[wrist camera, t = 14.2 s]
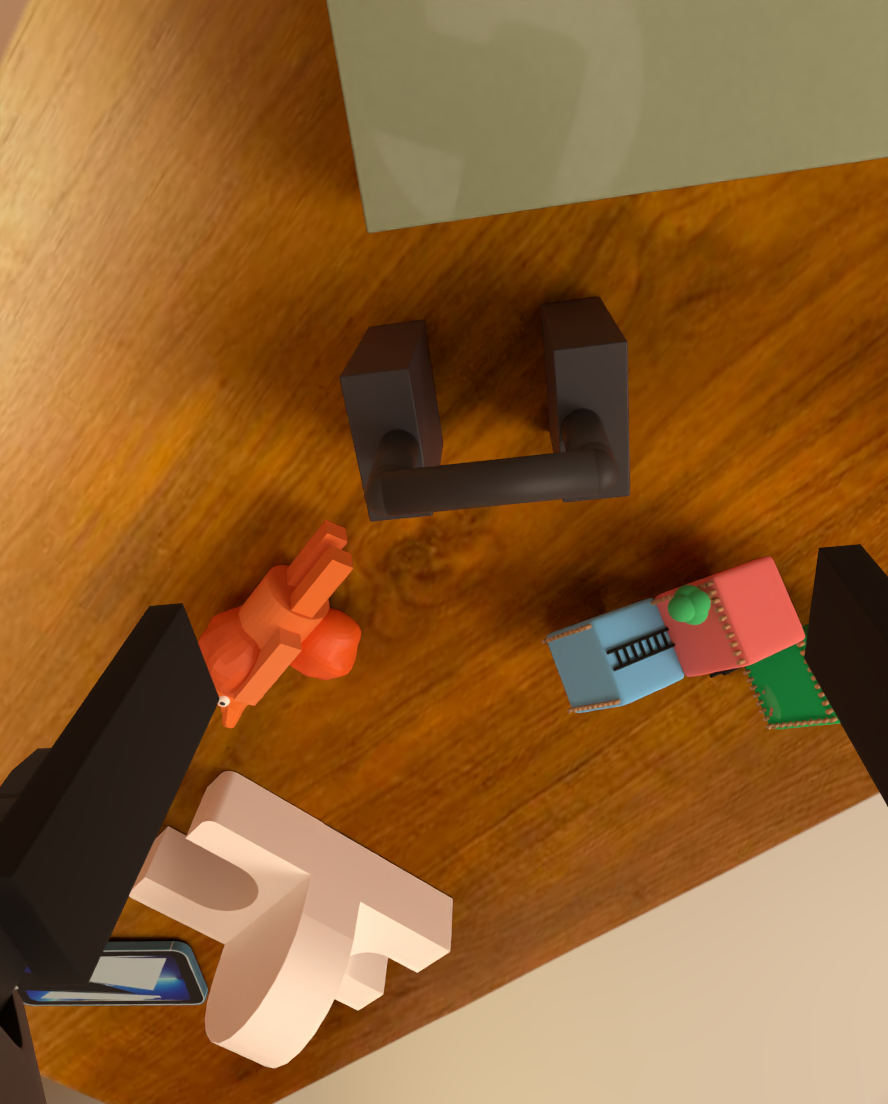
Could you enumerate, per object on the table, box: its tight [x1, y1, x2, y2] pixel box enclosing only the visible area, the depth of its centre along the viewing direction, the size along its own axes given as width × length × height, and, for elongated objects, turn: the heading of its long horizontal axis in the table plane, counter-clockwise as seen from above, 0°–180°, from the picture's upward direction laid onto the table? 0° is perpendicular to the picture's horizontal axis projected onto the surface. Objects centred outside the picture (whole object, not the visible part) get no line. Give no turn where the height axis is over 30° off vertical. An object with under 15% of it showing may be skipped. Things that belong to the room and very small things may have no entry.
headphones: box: [340, 297, 630, 521], centre depth 27 cm, size 6×10×11 cm, turn 98°
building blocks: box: [542, 556, 840, 729], centre depth 35 cm, size 8×8×12 cm
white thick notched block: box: [129, 771, 453, 1068], centre depth 45 cm, size 18×10×11 cm, turn 50°
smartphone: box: [15, 941, 208, 1006], centre depth 56 cm, size 7×1×15 cm
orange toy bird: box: [198, 520, 361, 728], centre depth 37 cm, size 5×8×12 cm
